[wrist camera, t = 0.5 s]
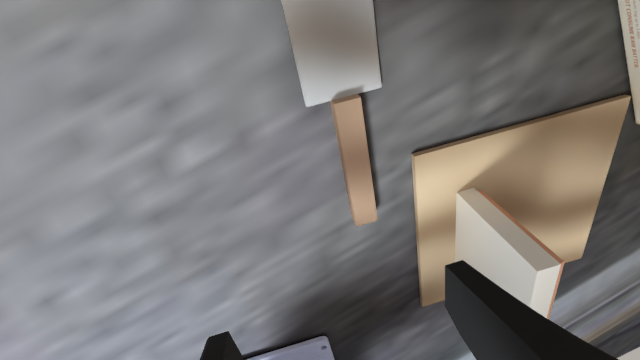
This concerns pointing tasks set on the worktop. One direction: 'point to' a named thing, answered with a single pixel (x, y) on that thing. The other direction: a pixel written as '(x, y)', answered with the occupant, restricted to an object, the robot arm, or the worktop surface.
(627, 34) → the coffeecake box
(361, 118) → the spatula
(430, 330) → the worktop surface
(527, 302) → the tile
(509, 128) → the mat
